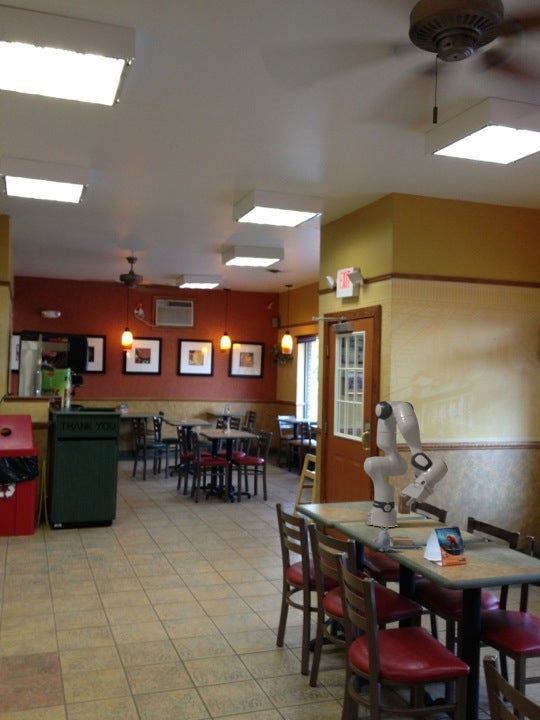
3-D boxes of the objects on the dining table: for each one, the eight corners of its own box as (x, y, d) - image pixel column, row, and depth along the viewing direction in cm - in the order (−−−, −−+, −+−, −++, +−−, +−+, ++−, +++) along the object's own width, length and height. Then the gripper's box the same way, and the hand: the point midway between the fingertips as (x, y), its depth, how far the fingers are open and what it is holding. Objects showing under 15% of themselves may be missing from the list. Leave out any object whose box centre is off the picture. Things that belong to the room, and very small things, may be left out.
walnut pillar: (398, 512, 334) (398, 496, 334) (406, 512, 335) (407, 496, 335) (401, 514, 330) (402, 497, 330) (409, 514, 330) (410, 497, 331)
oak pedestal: (385, 540, 333) (386, 534, 333) (404, 541, 335) (404, 534, 335) (393, 545, 323) (393, 539, 323) (412, 546, 325) (412, 539, 325)
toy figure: (375, 552, 312) (376, 527, 313) (370, 549, 318) (371, 524, 319) (396, 552, 314) (397, 527, 315) (391, 549, 320) (392, 524, 321)
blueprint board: (379, 541, 337) (379, 538, 337) (409, 541, 340) (409, 539, 340) (390, 548, 321) (390, 546, 321) (421, 549, 324) (421, 546, 324)
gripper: (410, 477, 345) (392, 496, 342) (427, 483, 324) (407, 503, 322) (418, 486, 345) (400, 505, 343) (435, 492, 325) (416, 512, 323)
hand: (403, 504), depth 332 cm, fingers closed on walnut pillar, 4 cm apart
